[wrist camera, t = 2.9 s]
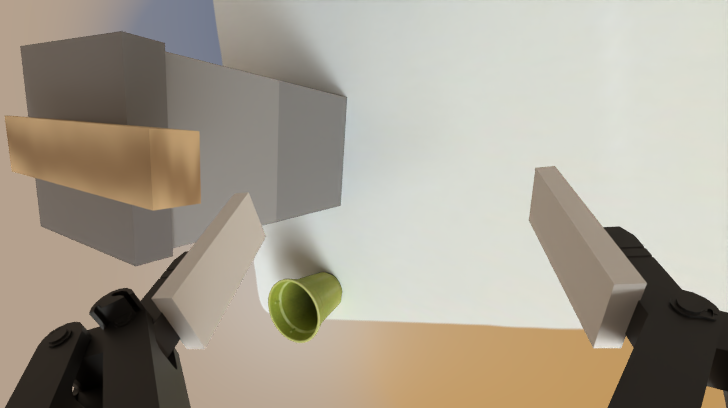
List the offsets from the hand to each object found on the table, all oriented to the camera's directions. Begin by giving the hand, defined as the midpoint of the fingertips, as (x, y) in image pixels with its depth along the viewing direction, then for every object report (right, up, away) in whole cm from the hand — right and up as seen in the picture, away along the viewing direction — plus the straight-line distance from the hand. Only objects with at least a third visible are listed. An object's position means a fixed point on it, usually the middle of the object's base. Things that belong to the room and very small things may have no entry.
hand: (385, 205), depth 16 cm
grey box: (-11, +9, +39) cm, 41 cm away
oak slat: (-20, +4, +10) cm, 23 cm away
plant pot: (-7, -14, +40) cm, 43 cm away
